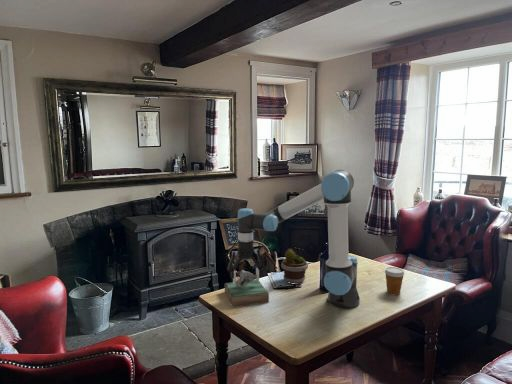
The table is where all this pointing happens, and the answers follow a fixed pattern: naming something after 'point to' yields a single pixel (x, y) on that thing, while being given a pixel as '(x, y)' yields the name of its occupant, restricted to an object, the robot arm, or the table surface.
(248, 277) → the mineral specimen
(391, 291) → the disposable coffee cup
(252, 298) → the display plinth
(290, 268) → the flowerpot
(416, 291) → the table surface
